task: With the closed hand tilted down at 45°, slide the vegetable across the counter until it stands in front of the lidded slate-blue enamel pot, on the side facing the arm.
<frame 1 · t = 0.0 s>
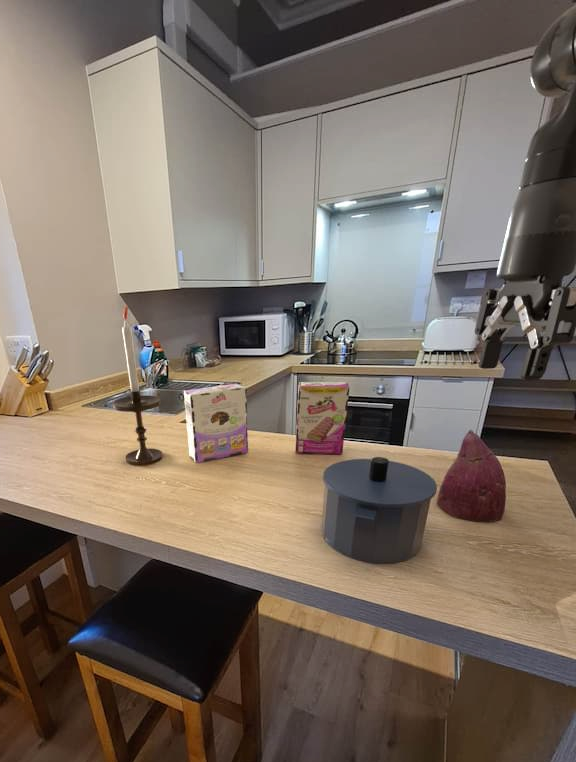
hand: (507, 373, 53), 24 cm above the counter, tool pointing down, fingers open, 8 cm apart
vegetable: (468, 508, 69), on the counter
candy box: (218, 455, 97), on the counter
candy bar box: (318, 451, 96), on the counter
pot lid: (376, 481, 58), point 9 cm above the counter, touching pot
candlestick: (144, 459, 97), on the counter
pot: (369, 535, 62), on the counter
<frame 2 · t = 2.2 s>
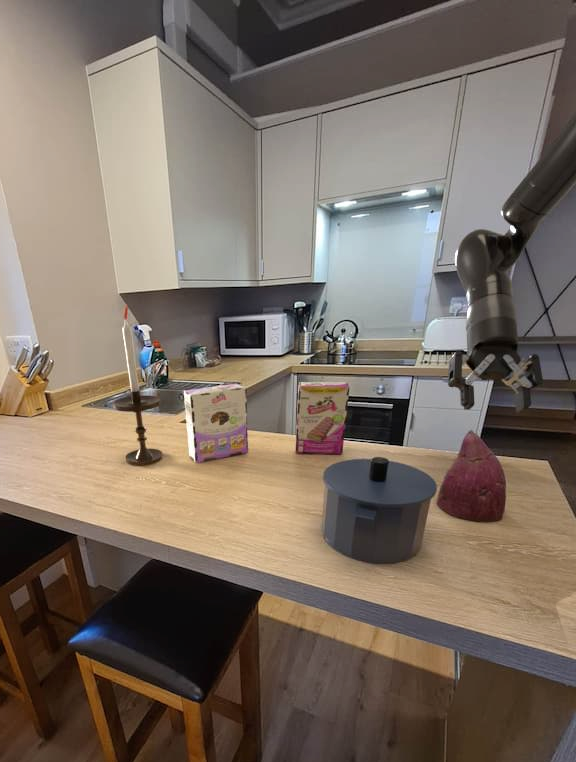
hand: (495, 409, 68), 15 cm above the counter, tool tilted 40°, fingers open, 8 cm apart
nothing on the counter moved.
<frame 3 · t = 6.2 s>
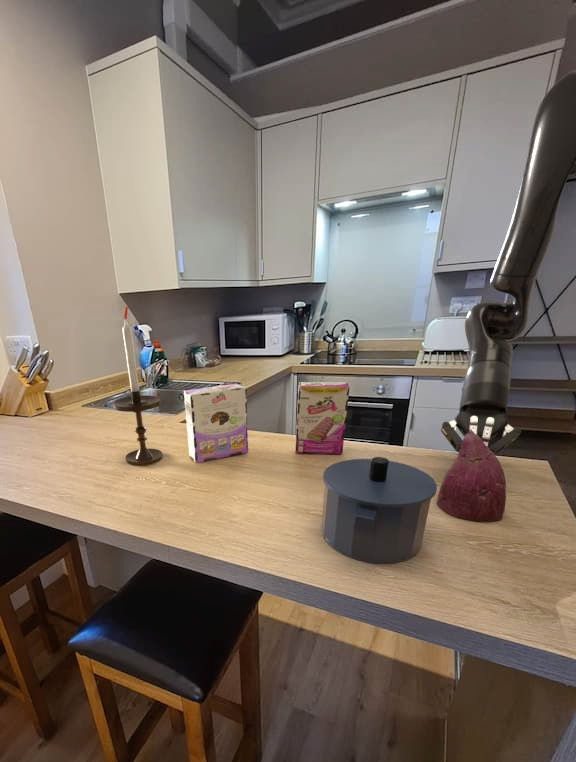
hand: (472, 473, 71), 4 cm above the counter, tool tilted 45°, fingers closed
vegetable: (468, 508, 69), on the counter, touching gripper
everything else where it was.
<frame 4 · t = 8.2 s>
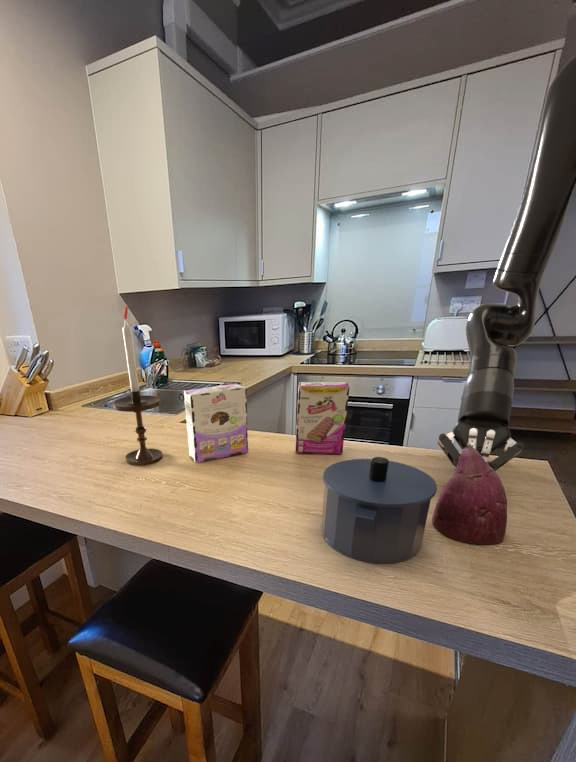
hand: (470, 490, 66), 4 cm above the counter, tool tilted 45°, fingers closed
vegetable: (466, 528, 63), on the counter, touching gripper
everything else where it was.
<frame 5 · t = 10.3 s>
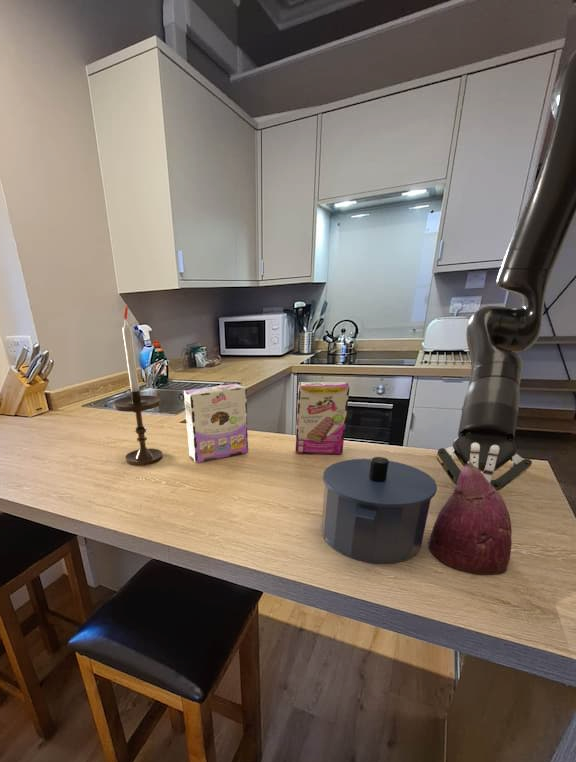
hand: (472, 511, 60), 4 cm above the counter, tool tilted 45°, fingers closed
vegetable: (466, 553, 57), on the counter, touching gripper
everything else where it was.
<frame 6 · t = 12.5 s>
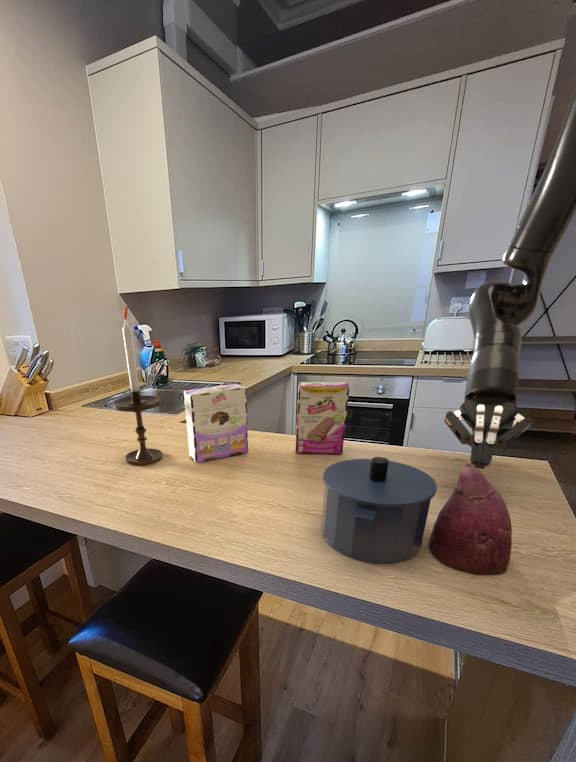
hand: (479, 466, 65), 8 cm above the counter, tool tilted 45°, fingers closed
vegetable: (466, 553, 57), on the counter
everything else where it was.
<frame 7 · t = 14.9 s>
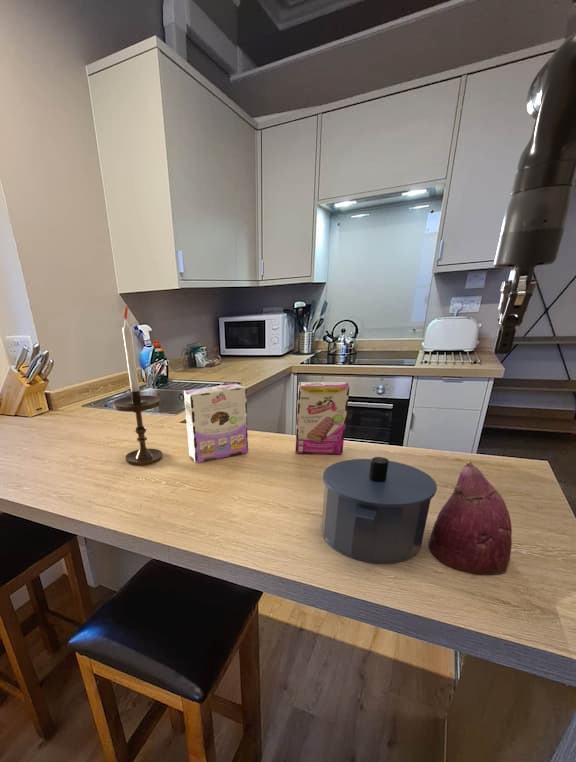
hand: (501, 353, 64), 25 cm above the counter, tool pointing down, fingers closed
nothing on the counter moved.
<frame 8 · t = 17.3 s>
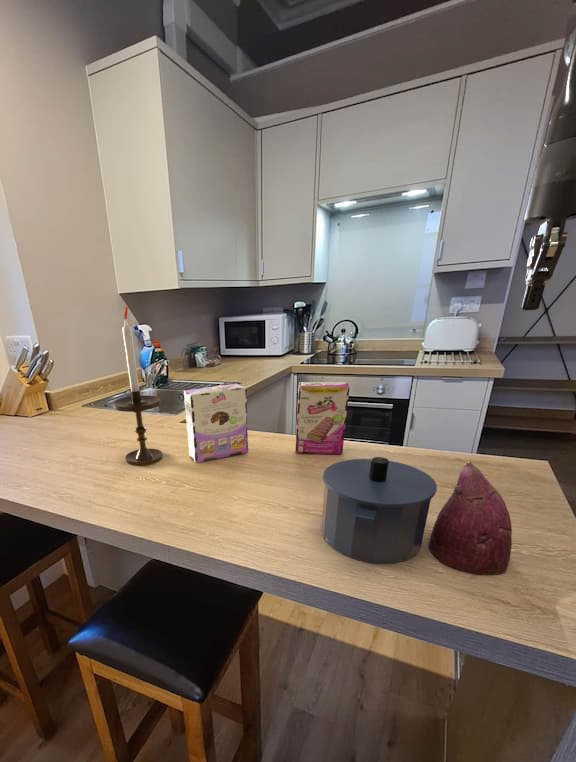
hand: (529, 309, 65), 31 cm above the counter, tool pointing down, fingers closed
nothing on the counter moved.
at the end: vegetable inside the target area (0.5 cm from its centre), on the counter; vegetable 13.3 cm from the pot (horizontally); vegetable tilted 1° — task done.
